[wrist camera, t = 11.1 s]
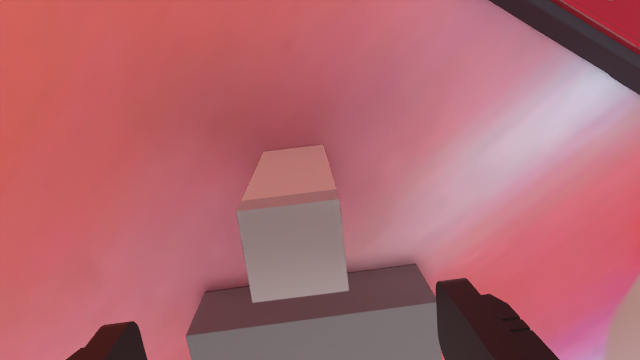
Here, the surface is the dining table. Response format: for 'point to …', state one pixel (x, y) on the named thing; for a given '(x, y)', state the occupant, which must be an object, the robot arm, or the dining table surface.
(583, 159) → the dining table surface
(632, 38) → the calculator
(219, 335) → the header
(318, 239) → the pale square peg
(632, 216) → the dining table surface
